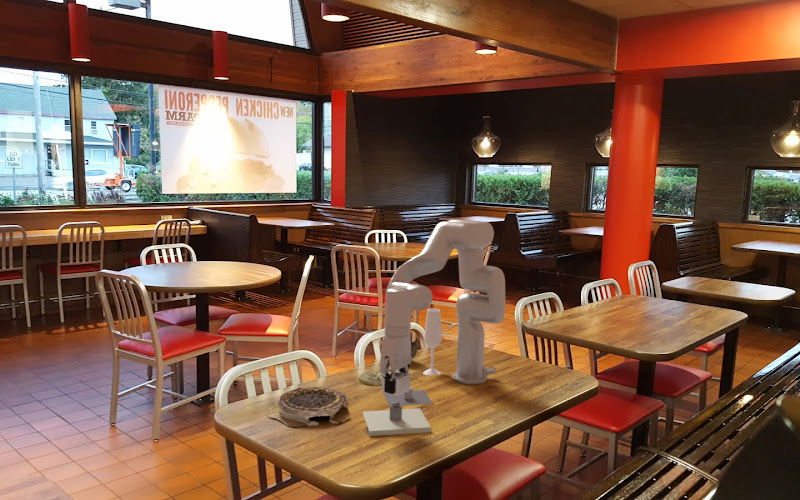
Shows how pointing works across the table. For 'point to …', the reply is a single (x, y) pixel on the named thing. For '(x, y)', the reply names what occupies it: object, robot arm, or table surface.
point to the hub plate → (396, 421)
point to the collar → (399, 383)
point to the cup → (414, 349)
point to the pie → (310, 404)
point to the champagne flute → (433, 336)
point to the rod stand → (409, 398)
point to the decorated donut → (371, 378)
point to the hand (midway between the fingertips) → (395, 389)
